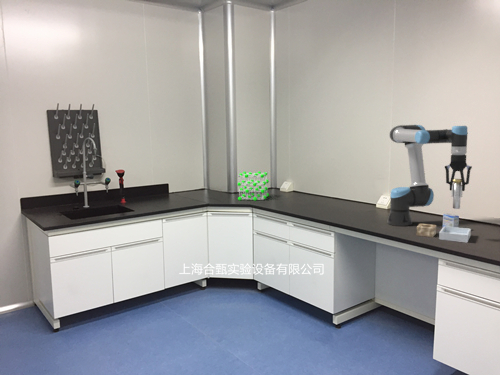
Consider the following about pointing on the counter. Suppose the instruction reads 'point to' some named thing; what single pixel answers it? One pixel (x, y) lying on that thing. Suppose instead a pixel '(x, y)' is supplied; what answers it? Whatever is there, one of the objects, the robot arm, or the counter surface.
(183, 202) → the counter surface
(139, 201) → the counter surface
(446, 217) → the medicine box
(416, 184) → the robot arm
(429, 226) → the holder block
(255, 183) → the molecular structure model
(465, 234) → the tray
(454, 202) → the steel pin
